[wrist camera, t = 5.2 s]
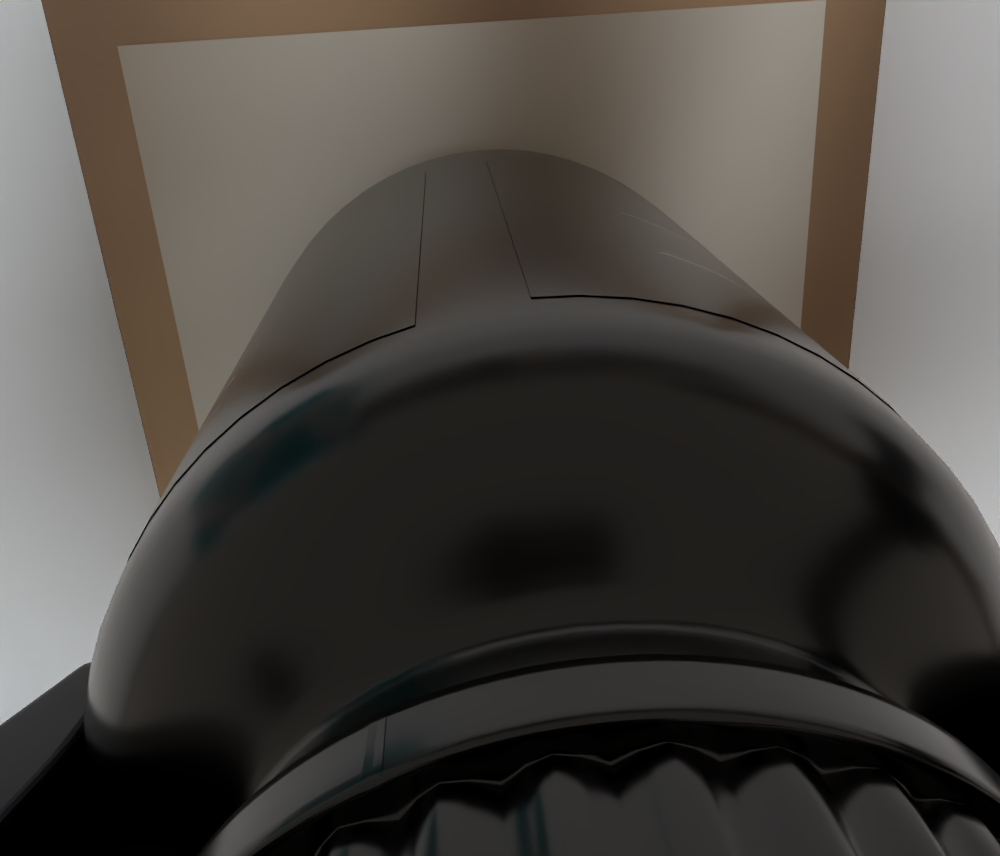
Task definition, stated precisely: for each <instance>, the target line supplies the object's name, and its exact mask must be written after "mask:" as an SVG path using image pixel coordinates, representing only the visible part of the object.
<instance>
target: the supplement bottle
mask: <svg viewBox="0 0 1000 856" xmlns="http://www.w3.org/2000/svg"><path fill="white" fill-rule="evenodd" d="M84 746H85V767H86V775H87V782H88V789H89V795H90V802H91V808H92V813H93V818H94V822H95V826H96V829H97V833H98V836H99V840H100V843H101V847H102V851H103V854H104V856H1000V548H999V545H998V544H997V542H996V540H995V538H994V536H993V534H992V532H991V530H990V529H989V527H988V525H987V523H986V521H985V520H984V518H983V516H982V514H981V513H980V511H979V509H978V507H977V506H976V504H975V502H974V500H973V499H972V498H971V496H970V495H969V494H968V492H967V491H966V490H965V488H964V487H963V486H962V484H961V483H960V482H959V480H958V479H957V477H956V476H955V475H954V473H953V472H952V471H951V469H950V468H949V467H948V466H947V465H946V464H945V463H944V461H943V460H942V459H941V458H940V457H939V456H938V455H937V454H936V453H935V452H934V451H933V450H932V449H931V448H930V447H929V445H928V444H927V443H926V442H925V441H924V440H923V439H922V438H921V437H920V436H919V435H918V434H917V433H916V432H915V431H914V430H913V429H912V428H911V427H910V426H909V425H908V424H907V423H906V422H905V421H904V420H903V419H902V418H901V417H900V416H899V415H898V414H897V413H896V412H895V411H894V409H893V408H892V407H891V406H890V405H889V404H887V403H886V402H885V401H884V400H883V399H882V398H881V397H880V396H878V395H877V394H876V393H875V392H874V391H873V390H871V389H870V388H869V387H868V386H867V385H866V384H864V383H863V382H862V381H861V380H860V379H859V378H857V377H856V376H855V375H854V374H853V373H852V372H850V371H849V370H848V369H847V368H846V367H845V366H843V365H842V364H841V363H840V362H839V361H837V360H836V359H835V358H834V357H833V356H832V355H830V354H829V353H828V352H827V351H826V350H825V349H823V348H822V347H821V346H820V345H819V344H818V343H816V342H815V341H814V340H813V339H812V338H810V337H809V336H808V335H807V334H806V333H805V332H803V331H802V330H801V329H800V328H799V327H798V326H796V325H795V324H794V323H793V322H792V321H790V320H789V319H788V318H787V317H786V316H785V315H783V314H782V313H781V312H780V311H779V310H778V309H776V308H775V307H774V306H773V305H772V304H771V303H769V302H768V301H767V300H766V299H765V298H763V297H762V296H761V295H760V294H759V293H758V292H756V291H755V290H754V289H753V288H752V287H751V286H749V285H748V284H747V283H746V282H745V281H744V280H742V279H741V278H740V277H739V276H738V275H736V274H735V273H734V272H733V271H732V270H731V269H729V268H728V267H727V266H726V265H725V264H724V263H722V262H721V261H720V260H719V259H718V258H716V257H715V256H714V255H713V254H712V253H711V252H709V251H708V250H707V249H706V248H705V247H704V246H702V245H701V244H700V243H699V242H698V241H697V240H695V239H694V238H693V237H692V236H691V235H689V234H688V233H687V232H686V231H685V230H684V229H682V228H681V227H680V226H679V225H678V224H677V223H675V222H674V221H673V220H672V219H671V218H669V217H668V216H667V215H666V214H664V213H663V212H662V211H661V210H660V209H658V208H657V207H656V206H655V205H653V204H652V203H650V202H649V201H648V200H646V199H645V198H644V197H642V196H641V195H640V194H638V193H637V192H635V191H633V190H632V189H630V188H629V187H627V186H626V185H624V184H623V183H621V182H620V181H618V180H616V179H614V178H612V177H610V176H608V175H606V174H604V173H602V172H600V171H598V170H595V169H593V168H590V167H588V166H585V165H583V164H580V163H577V162H575V161H571V160H568V159H564V158H560V157H557V156H553V155H549V154H543V153H537V152H531V151H522V150H505V149H496V150H476V151H469V152H462V153H455V154H450V155H446V156H442V157H438V158H434V159H430V160H427V161H425V162H422V163H419V164H416V165H413V166H411V167H408V168H405V169H403V170H401V171H399V172H397V173H395V174H393V175H391V176H389V177H387V178H385V179H383V180H381V181H380V182H378V183H377V184H375V185H373V186H372V187H370V188H368V189H367V190H365V191H364V192H362V193H361V194H360V195H358V196H357V197H356V198H355V199H353V200H352V201H351V202H349V203H348V204H347V205H345V206H344V207H343V208H342V209H341V210H340V211H339V212H338V213H337V214H335V215H334V216H333V217H332V218H331V219H330V220H329V221H328V222H327V223H326V224H325V225H324V226H323V227H322V228H321V230H320V231H319V232H318V233H317V234H316V235H315V237H314V238H313V239H312V240H311V241H310V242H309V244H308V245H307V247H306V248H305V250H304V251H303V253H302V254H301V256H300V257H299V258H298V260H297V261H296V263H295V264H294V266H293V268H292V269H291V271H290V272H289V274H288V275H287V276H286V278H285V280H284V282H283V283H282V285H281V287H280V289H279V290H278V292H277V294H276V296H275V297H274V299H273V301H272V303H271V304H270V306H269V308H268V310H267V311H266V313H265V315H264V317H263V319H262V320H261V322H260V324H259V326H258V327H257V329H256V331H255V333H254V334H253V336H252V338H251V340H250V341H249V343H248V345H247V347H246V349H245V350H244V352H243V354H242V356H241V357H240V359H239V361H238V363H237V364H236V366H235V368H234V370H233V371H232V373H231V375H230V377H229V379H228V380H227V382H226V384H225V386H224V387H223V389H222V391H221V393H220V394H219V396H218V398H217V400H216V401H215V403H214V405H213V407H212V409H211V410H210V412H209V414H208V416H207V417H206V419H205V421H204V423H203V424H202V426H201V428H200V430H199V431H198V433H197V435H196V437H195V439H194V440H193V442H192V444H191V446H190V447H189V449H188V451H187V453H186V454H185V456H184V458H183V460H182V461H181V463H180V465H179V467H178V469H177V470H176V472H175V474H174V476H173V477H172V479H171V481H170V483H169V485H168V486H167V488H166V490H165V492H164V493H163V495H162V497H161V499H160V501H159V502H158V504H157V506H156V508H155V510H154V512H153V513H152V515H151V517H150V519H149V521H148V523H147V525H146V526H145V528H144V530H143V532H142V534H141V536H140V538H139V539H138V541H137V543H136V545H135V547H134V549H133V551H132V553H131V554H130V557H129V559H128V562H127V564H126V567H125V569H124V571H123V573H122V575H121V578H120V580H119V582H118V585H117V587H116V590H115V592H114V595H113V597H112V600H111V602H110V605H109V607H108V610H107V613H106V615H105V618H104V620H103V623H102V625H101V628H100V631H99V635H98V639H97V643H96V647H95V651H94V655H93V659H92V663H91V667H90V674H89V681H88V690H87V699H86V707H85V716H84Z"/></svg>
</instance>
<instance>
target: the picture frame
mask: <svg viewBox="0 0 1000 856" xmlns="http://www.w3.org/2000/svg"><path fill="white" fill-rule="evenodd" d="M41 1H42V5H43V9H44V13H45V18H46V22H47V26H48V30H49V34H50V38H51V43H52V47H53V51H54V55H55V59H56V64H57V68H58V72H59V76H60V80H61V85H62V89H63V93H64V97H65V101H66V105H67V110H68V114H69V118H70V122H71V126H72V131H73V135H74V139H75V143H76V147H77V152H78V156H79V160H80V164H81V168H82V173H83V177H84V181H85V185H86V189H87V193H88V198H89V202H90V206H91V210H92V214H93V219H94V223H95V227H96V231H97V235H98V240H99V244H100V248H101V252H102V256H103V261H104V265H105V269H106V273H107V277H108V281H109V286H110V290H111V294H112V298H113V302H114V307H115V311H116V315H117V319H118V323H119V328H120V332H121V336H122V340H123V344H124V348H125V353H126V357H127V361H128V365H129V369H130V374H131V378H132V382H133V386H134V390H135V395H136V399H137V403H138V407H139V411H140V416H141V420H142V424H143V428H144V432H145V436H146V441H147V445H148V449H149V453H150V457H151V462H152V466H153V470H154V474H155V478H156V483H157V487H158V491H159V495H160V499H161V497H162V495H163V493H164V492H165V490H166V488H167V486H168V485H169V483H170V481H171V479H172V477H173V476H174V474H175V472H176V470H177V469H178V467H179V465H180V463H181V461H182V460H183V458H184V456H185V454H186V453H187V451H188V449H189V447H190V446H191V444H192V442H193V440H194V439H195V437H196V435H197V433H198V431H199V430H200V428H201V426H202V424H203V423H204V421H205V419H206V417H207V416H208V414H209V412H210V410H211V409H212V407H213V405H214V403H215V401H216V400H217V398H218V396H219V394H220V393H221V391H222V389H223V387H224V386H225V384H226V382H227V380H228V379H229V377H230V375H231V373H232V371H233V370H234V368H235V366H236V364H237V363H238V361H239V359H240V357H241V356H242V354H243V352H244V350H245V349H246V347H247V345H248V343H249V341H250V340H251V338H252V336H253V334H254V333H255V331H256V329H257V327H258V326H259V324H260V322H261V320H262V319H263V317H264V315H265V313H266V311H267V310H268V308H269V306H270V304H271V303H272V301H273V299H274V297H275V296H276V294H277V292H278V290H279V289H280V287H281V285H282V283H283V282H284V280H285V278H286V276H287V275H288V274H289V272H290V271H291V269H292V268H293V266H294V264H295V263H296V261H297V260H298V258H299V257H300V256H301V254H302V253H303V251H304V250H305V248H306V247H307V245H308V244H309V242H310V241H311V240H312V239H313V238H314V237H315V235H316V234H317V233H318V232H319V231H320V230H321V228H322V227H323V226H324V225H325V224H326V223H327V222H328V221H329V220H330V219H331V218H332V217H333V216H334V215H335V214H337V213H338V212H339V211H340V210H341V209H342V208H343V207H344V206H345V205H347V204H348V203H349V202H351V201H352V200H353V199H355V198H356V197H357V196H358V195H360V194H361V193H362V192H364V191H365V190H367V189H368V188H370V187H372V186H373V185H375V184H377V183H378V182H380V181H381V180H383V179H385V178H387V177H389V176H391V175H393V174H395V173H397V172H399V171H401V170H403V169H405V168H408V167H411V166H413V165H416V164H419V163H422V162H425V161H427V160H430V159H434V158H438V157H442V156H446V155H450V154H455V153H462V152H469V151H476V150H496V149H505V150H522V151H531V152H537V153H543V154H549V155H553V156H557V157H560V158H564V159H568V160H571V161H575V162H577V163H580V164H583V165H585V166H588V167H590V168H593V169H595V170H598V171H600V172H602V173H604V174H606V175H608V176H610V177H612V178H614V179H616V180H618V181H620V182H621V183H623V184H624V185H626V186H627V187H629V188H630V189H632V190H633V191H635V192H637V193H638V194H640V195H641V196H642V197H644V198H645V199H646V200H648V201H649V202H650V203H652V204H653V205H655V206H656V207H657V208H658V209H660V210H661V211H662V212H663V213H664V214H666V215H667V216H668V217H669V218H671V219H672V220H673V221H674V222H675V223H677V224H678V225H679V226H680V227H681V228H682V229H684V230H685V231H686V232H687V233H688V234H689V235H691V236H692V237H693V238H694V239H695V240H697V241H698V242H699V243H700V244H701V245H702V246H704V247H705V248H706V249H707V250H708V251H709V252H711V253H712V254H713V255H714V256H715V257H716V258H718V259H719V260H720V261H721V262H722V263H724V264H725V265H726V266H727V267H728V268H729V269H731V270H732V271H733V272H734V273H735V274H736V275H738V276H739V277H740V278H741V279H742V280H744V281H745V282H746V283H747V284H748V285H749V286H751V287H752V288H753V289H754V290H755V291H756V292H758V293H759V294H760V295H761V296H762V297H763V298H765V299H766V300H767V301H768V302H769V303H771V304H772V305H773V306H774V307H775V308H776V309H778V310H779V311H780V312H781V313H782V314H783V315H785V316H786V317H787V318H788V319H789V320H790V321H792V322H793V323H794V324H795V325H796V326H798V327H799V328H800V329H801V330H802V331H803V332H805V333H806V334H807V335H808V336H809V337H810V338H812V339H813V340H814V341H815V342H816V343H818V344H819V345H820V346H821V347H822V348H823V349H825V350H826V351H827V352H828V353H829V354H830V355H832V356H833V357H834V358H835V359H836V360H837V361H839V362H840V363H841V364H842V365H843V366H845V367H846V368H847V369H848V368H849V358H850V349H851V339H852V329H853V319H854V309H855V300H856V290H857V280H858V270H859V260H860V251H861V241H862V231H863V221H864V211H865V201H866V192H867V182H868V172H869V162H870V152H871V143H872V133H873V123H874V113H875V103H876V94H877V84H878V74H879V64H880V54H881V45H882V35H883V25H884V15H885V5H886V0H41Z"/></svg>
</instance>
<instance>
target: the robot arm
mask: <svg viewBox="0 0 1000 856" xmlns="http://www.w3.org/2000/svg"><path fill="white" fill-rule="evenodd" d="M91 663H92V662H90V663H87V664H84V665H83V666H81V667H79V668H78V669H77V670H75V671H74V672H72V673H71V674H70V675H68V676H67V677H66V678H64V679H63V680H62V681H60V682H59V683H57V684H56V685H55V686H53V687H52V688H51V689H49V690H48V691H47V692H45V693H44V694H42V695H41V696H40V697H38V698H37V699H36V700H34V701H33V702H32V703H30V704H29V705H27V706H26V707H25V708H23V709H22V710H21V711H19V712H18V713H17V714H15V715H14V716H12V717H11V718H10V719H8V720H7V721H6V722H4V723H3V724H2V725H0V856H104V854H103V851H102V847H101V843H100V840H99V836H98V833H97V829H96V826H95V822H94V818H93V813H92V808H91V802H90V795H89V789H88V782H87V775H86V767H85V746H84V716H85V707H86V699H87V690H88V681H89V674H90V667H91Z"/></svg>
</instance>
